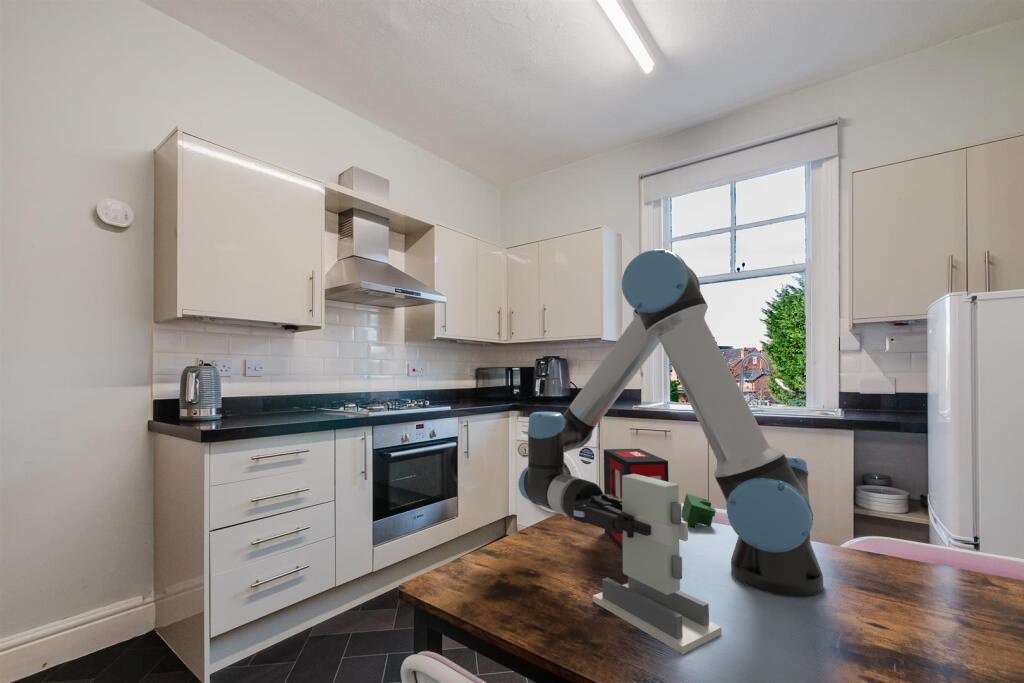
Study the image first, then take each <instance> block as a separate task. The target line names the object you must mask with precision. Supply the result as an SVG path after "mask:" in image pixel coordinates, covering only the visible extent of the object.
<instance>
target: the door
mask: <svg viewBox="0 0 1024 683" xmlns="http://www.w3.org/2000/svg"><path fill="white" fill-rule="evenodd" d="M679 489H680V488H679V484H677V483H675V482H674V483H673V482H666V481H662V480H658V479H654V478H650V477H646V476H642V475H638V474H630V475H624V476H622V511H623V512H625V513H627V514H629V515H632V516H634V520H635V516H638V515H639V516H642V517H645V518H648V519H651V520H654V521H657V522H660V523H663V524H665V525H669V526H671V527H672V545H671V546H667V545H665V544H662V543H660V542H657V541H654V540H652V539H649V538H647V537H644V536H641V535H639V534H636V532H634V537H633V538H629V537H627V532H626V531H624V530H623V552H622V574H623V575H625V576H627V577H628V576H629V577H631V578H633V579H635V580H638V581H640V582H642V583H644V584H646V585H648V586H650V587H652V588H654V589H656V590H658V591H660V592H662V593H664V594H666V595H669V594H671V593H674V592H676V591H681V580H682V579H683V557H682V556H681V555H680V554H681V553H680V539H679V525H681V520H682V503H681V502H680V499H679V498H680V493H679V491H680V490H679Z"/></svg>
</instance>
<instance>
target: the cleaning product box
mask: <svg viewBox="0 0 1024 683" xmlns="http://www.w3.org/2000/svg"><path fill="white" fill-rule="evenodd" d="M630 474H638V475H642V476H646V477H650V478H654V479H658V480H662V481H666V482H669V480H670V478H669V460H666V459H664V458H662V457H659V456H657V455H655V454H652V453H650V452H647V451H646V450H643V449H640V448H610V449H609V448H607V449H606V448H604V449H603V490H604V492H603V494H609V495H611V496H612V497H615V498H619V499H622V476H624V475H630ZM614 527H615V526H614ZM605 533H606V534H607V535H608V536H609V537H608V536H607V535H606V534H605ZM604 534H605V535H606V536H607V537H608V538H609V539H610V540H611V541H612V542H613V543H614V544H615V546H616V545H617V546H618V547H617V546H616V547H617V548H618V549H619V550H620V551H621V552H622V553H623V533H622V534H618V533H614V532H612V531H609V530H606V529H604Z"/></svg>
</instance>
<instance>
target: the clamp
mask: <svg viewBox="0 0 1024 683" xmlns="http://www.w3.org/2000/svg"><path fill="white" fill-rule="evenodd" d="M711 506H712V502H711V501H710V500H708V499H706V498H704V497H699V496H696V495H692V494H689V493H685V498H684V501H683V506H682V508H681V517H682V518H683V521H685V522H688V527H691V526H692V528H696V527H697V523H698V524H701V525H703V526H707V527H711V526H712V522H713V518H715V516H716V512H717V510H716V509H715V507H711Z"/></svg>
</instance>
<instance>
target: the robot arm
mask: <svg viewBox="0 0 1024 683" xmlns="http://www.w3.org/2000/svg"><path fill="white" fill-rule="evenodd" d="M621 291H622V293H623V294H622V295H623V296H624V298H625V299H626V302H627V303H628V304H629V305H630V307H631V308H633V309H634V310H633V311H632V315H633V316H632V317H633V319H632V320H631V322H630V323H629V324H628V326H627V327H626V328H625V330H624V331H623V332H622V334H621V335H620V336H619V338H618V339H617V341H616V342H615V344H614V345H613V346H612V347H611V348H610V350H609V352H608V353H607V354H606V356H605V357H604V358H603V360H602V361H601V362H600V364H599V365H598V367H597V368H596V369H595V371H594V372H593V374H592V375H591V376H590V377H589V378H588V381H586V383H585V384H584V386H583V387H582V388H581V390H580V391H579V392H578V394H577V395H576V396H575V398H574V399H573V401H572V402H571V403H570V404H569V406H568V407H567V409H566V410H565V412H564V413H561V412H558V411H557V412H556V411H536V412H532V413H530V414H529V417H528V427H527V449H528V451H527V454H528V456H527V460H528V464H527V467H525V468H523V470H522V472H520V473H521V474H520V477H519V478H518V484H517V485H518V490H519V493H520V494H521V496H522V497H524V499H526V500H528V501H529V502H531V503H533V504H534V505H538V506H541V507H544V508H546V509H549V510H551V511H553V512H556V513H559V514H560V515H561V514H562V515H563V516H564V517H565V518H570V519H573V521H576V522H579V523H582V524H589V525H592V526H595V527H597V528H599V529H600V528H601V529H602V530H603V529H604V530H605V529H606V530H609V531H612V532H614V533H618V534H622V533H623V530H624V531H626V532H627V537H629V538H633V537H634V532H636V534H639V535H641V536H644V537H647V538H649V539H652V540H654V541H657V542H660V543H662V544H665V545H667V546H671V545H672V527H671V526H669V525H665V524H663V523H660V522H657V521H654V520H651V519H648V518H645V517H642V516H639V515H638V516H635V520H634V516H632V515H629V514H627V513H625V512H623V511H622V499H619V498H615V497H612V496H611V495H609V494H604V492H603V490H602V489H601V488H600V486H599V484H596V483H595V482H594V481H593V482H592V481H589V480H587V479H582V478H580V477H577V476H573V475H570V474H565V473H564V472H565V471H564V467H565V453H566V452H571V451H573V450H576V449H580V448H582V447H584V446H585V445H586V444H587V443H589V442H590V440H591V439H592V436H593V431H594V429H595V427H596V426H597V425H598V424H599V423H600V421H601V420H602V419H603V418H604V417H605V415H606V414H607V412H608V410H610V408H612V406H613V405H614V404H615V402H616V401H617V399H618V398H619V397H620V395H621V394H622V393H623V391H624V390H625V389H626V387H627V386H628V385H629V383H630V382H631V381H632V380H633V378H634V377H635V376H636V375H637V373H638V372H639V370H640V369H641V368H642V367H643V365H645V363H646V362H647V360H648V359H649V357H650V356H651V355H652V353H654V351H655V349H657V348H658V346H659V345H660V343H661V345H662V348H663V350H664V351H665V354H666V357H667V358H668V360H669V362H670V364H671V366H672V368H673V370H674V373H675V375H676V377H677V378H678V381H679V383H680V385H681V388H682V390H683V391H684V394H685V396H686V398H687V400H688V402H689V404H690V406H691V408H692V411H693V412H694V414H695V417H696V419H697V421H698V424H699V425H700V427H701V429H702V432H703V434H704V436H705V437H706V439H707V443H708V444H709V446H710V449H711V450H712V453H713V454H714V457H715V458H716V461H717V465H716V469H715V471H714V472H713V475H714V478H715V480H716V482H717V485H718V487H719V490H720V491H721V493H722V495H723V497H724V500H725V501H726V504H725V505H726V514H727V518H728V520H729V524H730V527H731V528H732V529H733V531H734V533H735V534H736V535H737V536H738V537H737V540H736V543H735V547H734V549H733V552H732V554H731V557H730V558H731V559H730V560H731V561H730V570H731V572H730V573H731V574H732V576H733V578H735V579H736V580H738V581H739V582H741V583H743V584H744V585H746V586H748V587H750V588H753V589H755V590H758V591H762V592H764V593H769V594H773V595H778V596H783V597H794V598H795V597H796V598H797V597H800V598H802V597H812V596H816V595H819V594H820V593H822V592H823V590H824V574H823V572H822V569H821V566H820V564H819V562H818V559H817V556H816V553H815V551H814V549H813V545H812V542H811V535H810V534H811V530H812V527H813V521H814V512H813V510H812V507H811V502H810V497H809V480H808V477H809V473H810V472H809V470H808V467H807V466H808V465H807V462H806V461H805V459H803V458H802V457H799V456H789V455H785V453H784V451H783V450H780V449H779V448H775V447H773V446H771V445H770V444H768V441H767V439H766V437H765V435H764V434H763V431H762V430H761V427H760V426H759V424H758V422H757V419H756V417H755V416H754V414H753V411H752V409H751V407H750V405H749V404H748V401H747V400H746V398H745V396H744V394H743V392H742V390H741V388H740V386H739V384H738V382H737V380H736V378H735V376H734V375H733V373H732V371H731V369H730V367H729V365H728V363H727V361H726V358H725V357H724V355H723V353H722V351H721V349H720V347H719V345H718V343H717V341H716V340H715V338H714V335H713V333H712V331H711V330H710V327H709V325H708V324H707V321H706V319H705V317H706V313H707V311H708V308H709V306H708V303H707V302H706V300H705V297H704V295H703V294H702V292H701V284H700V280H699V279H698V277H697V274H696V273H695V271H694V270H692V268H690V267H689V266H688V265H687V264H686V262H685V261H684V259H683V257H681V256H679V255H678V254H676V252H675V253H674V252H672V251H669V250H666V249H661V248H658V249H657V248H655V249H650V250H649V249H648V250H646V251H644V252H642V253H640V254H638V255H636V256H635V257H634V258H633V259H631V261H630V262H629V263H628V264H627V266H626V268H625V269H624V273H623V275H622V278H621ZM614 526H615V527H614ZM680 540H681V541H683V542H687V541H689V526H688V522H685V521H684V520H682V519H681V525H679V541H680Z"/></svg>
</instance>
